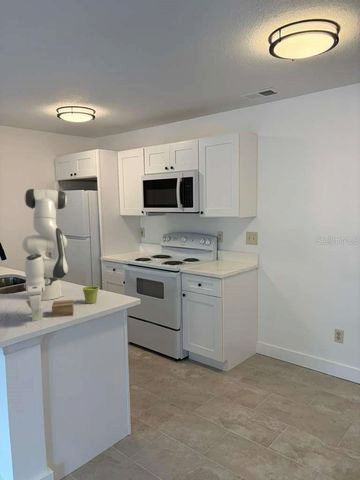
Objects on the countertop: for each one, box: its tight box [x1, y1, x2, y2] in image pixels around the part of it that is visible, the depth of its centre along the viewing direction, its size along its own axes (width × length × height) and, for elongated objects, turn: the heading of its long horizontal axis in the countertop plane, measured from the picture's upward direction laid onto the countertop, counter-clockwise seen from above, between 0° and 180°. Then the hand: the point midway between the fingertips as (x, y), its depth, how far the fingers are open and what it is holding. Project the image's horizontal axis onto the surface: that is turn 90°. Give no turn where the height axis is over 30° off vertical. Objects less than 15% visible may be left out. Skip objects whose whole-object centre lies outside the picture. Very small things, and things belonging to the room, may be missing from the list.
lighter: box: [25, 299, 42, 309], centre depth 188 cm, size 7×2×8 cm, turn 111°
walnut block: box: [51, 299, 75, 318], centre depth 188 cm, size 10×10×6 cm
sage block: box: [31, 305, 43, 322], centre depth 180 cm, size 4×4×6 cm
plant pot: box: [81, 285, 100, 305], centre depth 208 cm, size 9×9×9 cm
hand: (37, 314), depth 180 cm, fingers closed on sage block, 4 cm apart
